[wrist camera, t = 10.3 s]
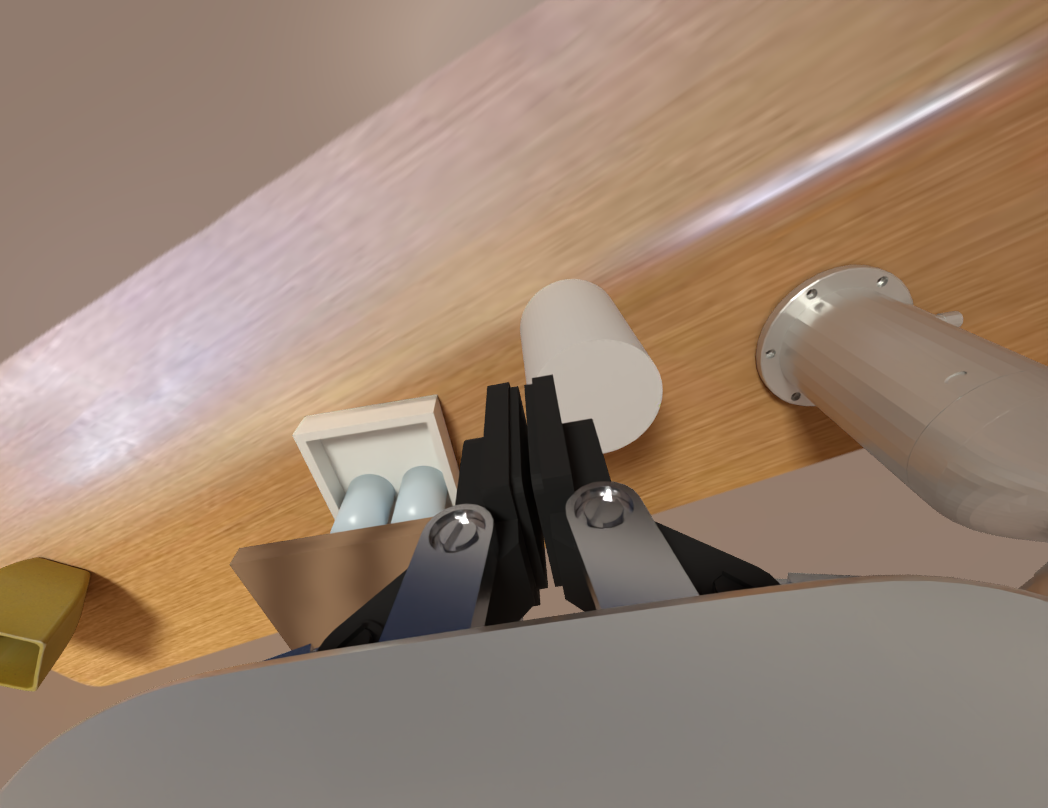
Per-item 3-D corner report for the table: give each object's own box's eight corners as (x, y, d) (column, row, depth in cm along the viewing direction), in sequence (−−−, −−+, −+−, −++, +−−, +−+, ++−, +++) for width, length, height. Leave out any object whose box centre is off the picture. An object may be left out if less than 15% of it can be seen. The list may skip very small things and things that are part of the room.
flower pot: (16, 536, 47) (-77, 617, 40) (113, 564, 50) (44, 644, 42) (10, 588, 51) (-76, 671, 43) (102, 611, 54) (35, 693, 46)
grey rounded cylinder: (442, 462, 44) (435, 506, 39) (452, 497, 47) (447, 543, 41) (396, 469, 44) (383, 514, 39) (409, 503, 47) (398, 551, 42)
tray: (436, 394, 42) (433, 412, 39) (474, 524, 50) (473, 545, 47) (304, 416, 42) (292, 435, 39) (363, 541, 50) (356, 563, 48)
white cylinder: (563, 388, 42) (585, 475, 32) (499, 326, 39) (501, 400, 28) (637, 329, 39) (687, 402, 29) (576, 257, 36) (608, 310, 26)
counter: (482, 425, 43) (478, 524, 33) (509, 532, 51) (513, 642, 40) (293, 457, 44) (229, 564, 33) (347, 558, 51) (308, 673, 41)
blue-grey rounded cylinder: (387, 470, 45) (373, 516, 39) (400, 504, 47) (389, 552, 42) (341, 477, 45) (322, 524, 40) (357, 511, 47) (340, 559, 42)
